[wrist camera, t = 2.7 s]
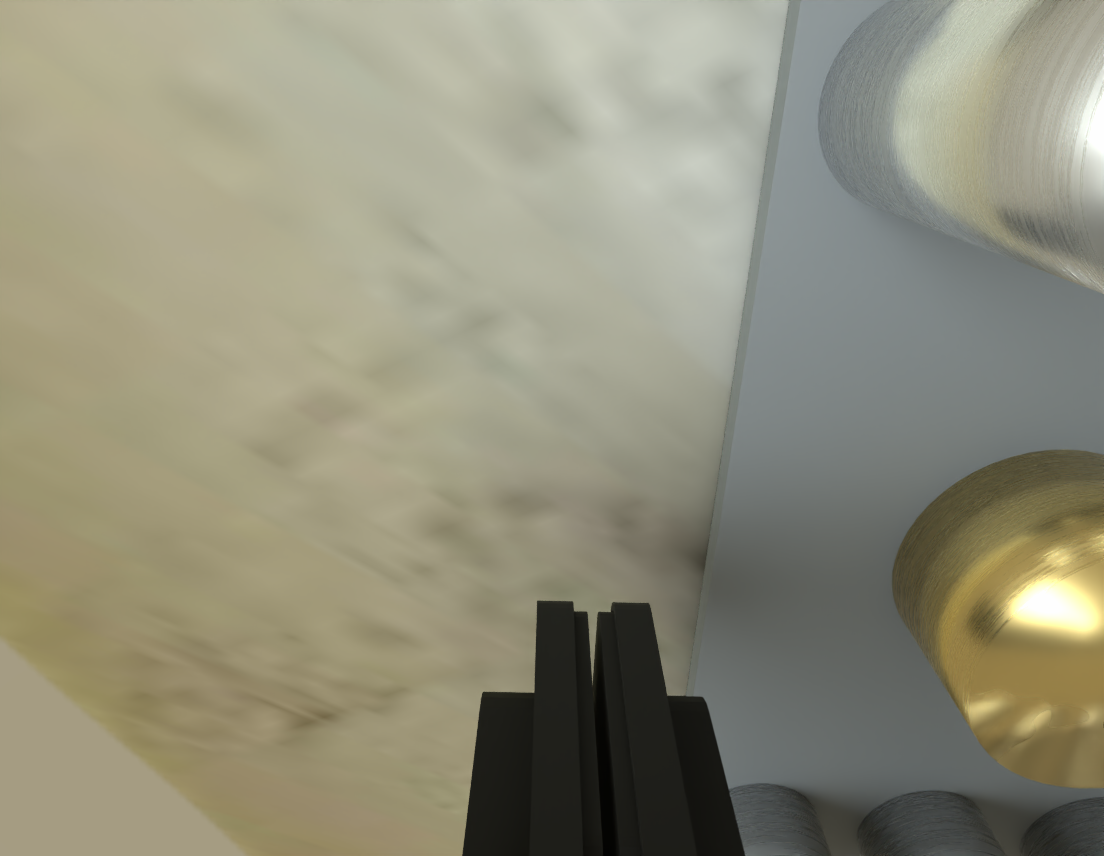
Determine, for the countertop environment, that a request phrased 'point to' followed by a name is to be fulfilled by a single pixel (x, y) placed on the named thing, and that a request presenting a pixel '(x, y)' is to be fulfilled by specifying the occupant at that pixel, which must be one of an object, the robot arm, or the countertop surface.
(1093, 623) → the gold rounded lump
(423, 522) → the countertop surface
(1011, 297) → the plate
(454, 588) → the countertop surface
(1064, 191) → the steel spacers
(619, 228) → the countertop surface
